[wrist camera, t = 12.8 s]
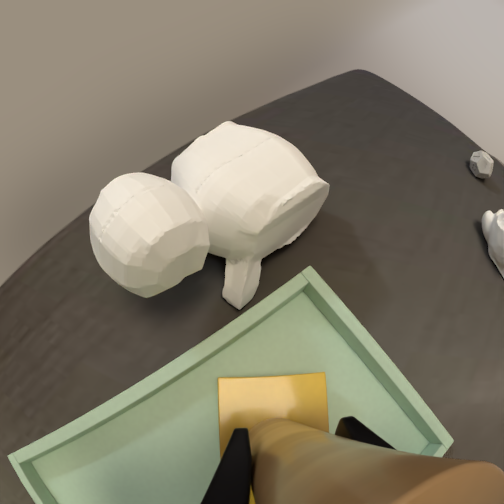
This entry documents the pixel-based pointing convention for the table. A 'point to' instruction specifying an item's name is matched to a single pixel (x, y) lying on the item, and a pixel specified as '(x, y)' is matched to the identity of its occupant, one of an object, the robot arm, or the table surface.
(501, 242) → the white figurine
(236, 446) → the robot arm
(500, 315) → the table surface
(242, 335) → the tray
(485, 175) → the game die
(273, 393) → the sponge wand
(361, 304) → the table surface
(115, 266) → the white turtle figurine
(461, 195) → the table surface
